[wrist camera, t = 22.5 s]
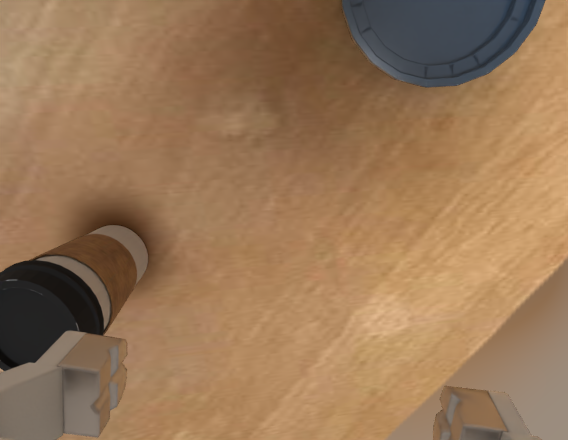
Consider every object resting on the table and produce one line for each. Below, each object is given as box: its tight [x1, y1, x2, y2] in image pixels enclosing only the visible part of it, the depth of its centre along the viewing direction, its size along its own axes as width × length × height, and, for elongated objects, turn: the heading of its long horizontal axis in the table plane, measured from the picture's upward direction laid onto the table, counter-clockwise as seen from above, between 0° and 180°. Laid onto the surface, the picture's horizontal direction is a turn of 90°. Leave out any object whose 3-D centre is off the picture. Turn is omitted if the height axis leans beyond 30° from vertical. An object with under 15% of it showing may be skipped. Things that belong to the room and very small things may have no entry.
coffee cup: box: [0, 225, 148, 371], centre depth 40 cm, size 8×8×15 cm
